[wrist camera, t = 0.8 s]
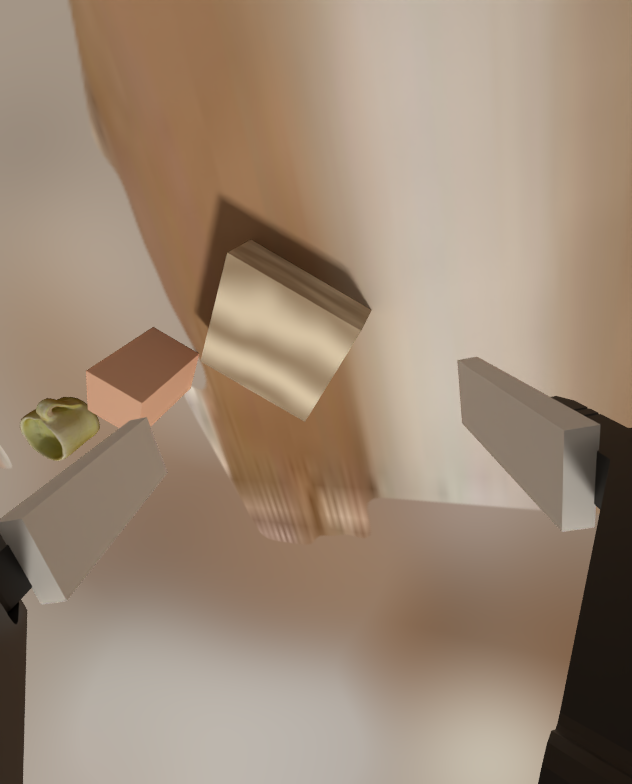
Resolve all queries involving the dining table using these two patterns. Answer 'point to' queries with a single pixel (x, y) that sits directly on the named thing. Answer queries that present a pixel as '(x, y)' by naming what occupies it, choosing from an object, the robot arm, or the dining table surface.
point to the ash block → (279, 329)
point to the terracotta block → (141, 379)
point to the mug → (59, 427)
